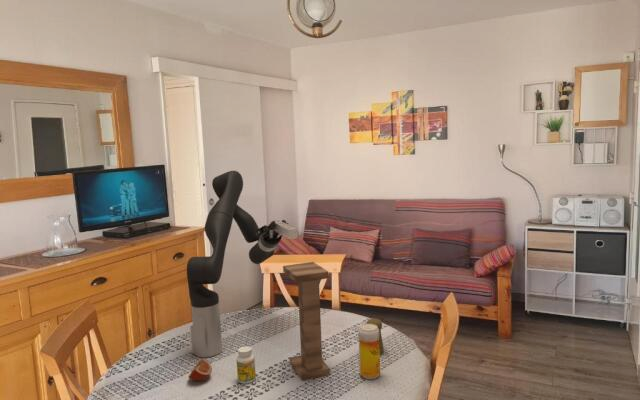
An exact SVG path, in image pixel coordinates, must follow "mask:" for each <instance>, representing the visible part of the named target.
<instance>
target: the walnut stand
mask: <svg viewBox="0 0 640 400" xmlns="http://www.w3.org/2000/svg"><path fill="white" fill-rule="evenodd" d="M282 269H283V271H282V273H283V274H285V275H286V276H287V277H289V278H290V280H292V281H293V282H294V283H296V284H297V290H298V291H297V292H298V293H297V295H298V296H297V297H298V314H299V337H300V338H299V340H300V342H299V343H300V355H296V356H293V357H289V365H290V366H291V367H292V369H293V371H294V372H295V374H297V376H298V377H299V379H300V380H301V381H303V382H304V381H307V380H311V379H316V378H321V377H325V376H329V375H331V367H329V365H328V364H327V363H326V362H325V361H324V360H323V350H322V349H323V348H322V347H323V346H322V343H323V342H322V323H321V322H322V319H321V318H322V317H321V299H320V298H321V296H320V280H326V279H329V271H328V270H327V269H325V268H324V267H322V266H321V265H319V264H317V263H315V262H314V261H312V262H311V261H310V262H302V263H296V264H288V265H287V264H286V265H282Z"/></svg>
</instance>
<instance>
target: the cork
mask: <svg viewBox="0 0 640 400" xmlns="http://www.w3.org/2000/svg"><path fill="white" fill-rule="evenodd" d="M365 324H374V325H376V326H377V327H378V329H379V345H380V356H381V355H383V354H384V353H385V350H384V344H383V343H384V342H383V337H382V332H381V330H382V329H383V323H382V320H380V319H379V318H370V319H368V320H367V321H366V323H365Z"/></svg>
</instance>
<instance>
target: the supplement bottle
mask: <svg viewBox="0 0 640 400" xmlns="http://www.w3.org/2000/svg"><path fill="white" fill-rule="evenodd" d="M252 351H253V349H252V347H251V346H241V347H239V348H238V349H237V354H238V355H237V356H236V358H235V359H236V373H237V381H238V383H240V384H244V385H245V384H251V383H253V382H254V381H255V380H256V377H257V376H256V375H257V374H256V363H255V362H256V361H255V355H254V354H253V352H252Z"/></svg>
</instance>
